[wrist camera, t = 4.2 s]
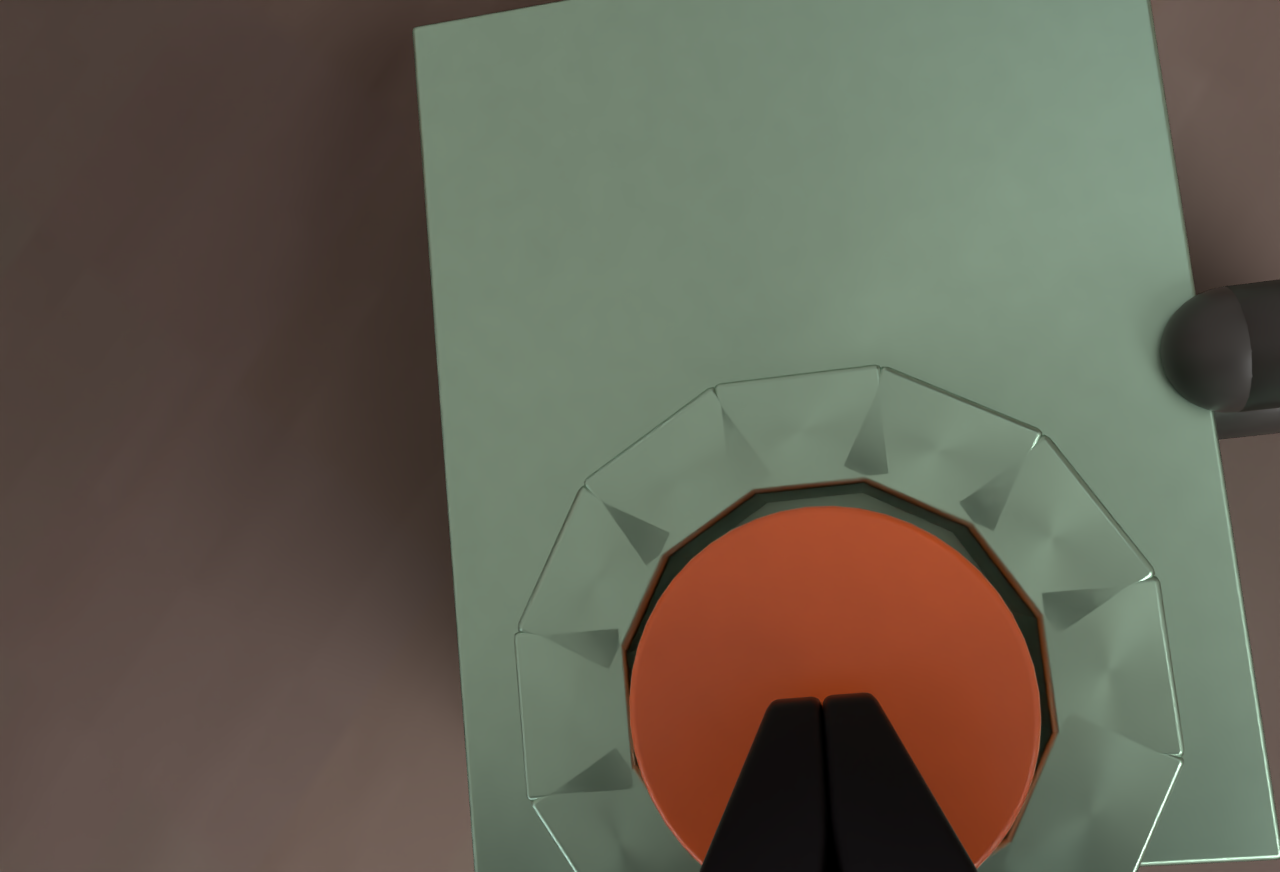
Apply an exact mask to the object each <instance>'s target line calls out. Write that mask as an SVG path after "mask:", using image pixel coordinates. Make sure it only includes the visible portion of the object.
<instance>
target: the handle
mask: <svg viewBox="0 0 1280 872" xmlns="http://www.w3.org/2000/svg"><path fill="white" fill-rule="evenodd" d="M1160 354H1161V361H1162V366H1163V369H1164V371H1165V374H1166V376H1167V378H1168V380H1169V382H1170V383H1171V384H1172V386H1173V387H1174V388H1175V390H1176V391H1177V392H1178V393H1180V394H1181V395H1182V396H1183V397H1184V398H1185V399H1186V400H1188V401H1190V402H1191V403H1193V404H1195V405H1196V406H1199V407H1202V408H1204V409H1207V410H1210V411H1214V413H1215V420H1216V426H1217V433H1218V439H1228V438H1237V437H1246V436H1256V435H1265V434H1275V433H1280V280H1272V281H1264V282H1256V283H1248V284H1240V285H1233V286H1225V287H1219V288H1214V289H1210V290H1208V291H1205V292H1203V293H1201V294H1198V295H1196V296H1194V297H1192V298H1191V299H1189V300H1188V301H1186V302H1185V303H1184V304H1183V305H1182V306H1181V307H1180V308H1179V309H1178V310H1177V311H1176V312H1175V313H1174V314H1173V315H1172V317H1171V318H1170V320H1169V321H1168V323H1167V325H1166V327H1165V330H1164V333H1163V335H1162V340H1161V348H1160Z"/></svg>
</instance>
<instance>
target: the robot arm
mask: <svg viewBox="0 0 1280 872" xmlns="http://www.w3.org/2000/svg"><path fill="white" fill-rule="evenodd" d="M699 872H978V871H977V869H976V867H975V865H974V864H973V862H972V860H971V859H970V857H969V855H968V853H967V852H966V850H965V848H964V847H963V845H962V843H961V842H960V840H959V838H958V836H957V835H956V833H955V831H954V830H953V828H952V826H951V824H950V823H949V821H948V819H947V818H946V816H945V814H944V813H943V811H942V809H941V807H940V806H939V804H938V802H937V801H936V799H935V797H934V795H933V794H932V792H931V790H930V789H929V787H928V785H927V784H926V782H925V780H924V778H923V777H922V775H921V773H920V772H919V770H918V768H917V766H916V765H915V763H914V761H913V760H912V758H911V756H910V755H909V753H908V751H907V749H906V748H905V746H904V744H903V743H902V741H901V739H900V737H899V736H898V734H897V732H896V731H895V729H894V727H893V726H892V724H891V722H890V720H889V719H888V717H887V715H886V714H885V712H884V710H883V708H882V707H881V705H880V703H879V702H878V700H877V699H876V698H875V697H874V696H873V695H872V694H870V693H866V692H862V693H849V694H837V695H830V696H828V697H826V698H825V699H824V701H823V707H822V703H821V701H820V700H819V699H818V698H816V697H812V696H811V697H798V698H785V699H777V700H774V701H773V702H771V703H770V705H769V706H768V708H767V709H766V711H765V714H764V716H763V719H762V721H761V723H760V726H759V728H758V731H757V733H756V735H755V738H754V740H753V743H752V745H751V748H750V750H749V752H748V755H747V757H746V760H745V762H744V764H743V767H742V769H741V772H740V774H739V777H738V779H737V781H736V784H735V786H734V789H733V791H732V793H731V796H730V798H729V801H728V803H727V806H726V808H725V810H724V813H723V815H722V818H721V820H720V822H719V825H718V827H717V830H716V832H715V835H714V837H713V839H712V842H711V844H710V847H709V849H708V851H707V854H706V856H705V859H704V861H703V864H702V866H701V868H700V871H699Z"/></svg>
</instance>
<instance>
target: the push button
mask: <svg viewBox="0 0 1280 872" xmlns="http://www.w3.org/2000/svg"><path fill="white" fill-rule="evenodd" d="M862 692H866V693H870V694H872V695H873V696H874V697H875V698H876V699H877V700H878V702H879V703H880V705H881V707H882V708H883V710H884V712H885V714H886V715H887V717H888V719H889V720H890V722H891V724H892V726H893V727H894V729H895V731H896V732H897V734H898V736H899V737H900V739H901V741H902V743H903V744H904V746H905V748H906V749H907V751H908V753H909V755H910V756H911V758H912V760H913V761H914V763H915V765H916V766H917V768H918V770H919V772H920V773H921V775H922V777H923V778H924V780H925V782H926V784H927V785H928V787H929V789H930V790H931V792H932V794H933V795H934V797H935V799H936V801H937V802H938V804H939V806H940V807H941V809H942V811H943V813H944V814H945V816H946V818H947V819H948V821H949V823H950V824H951V826H952V828H953V830H954V831H955V833H956V835H957V836H958V838H959V840H960V842H961V843H962V845H963V847H964V848H965V850H966V852H967V853H968V855H969V857H970V859H971V860H972V862H973V864H974V865H975V867H976V869H977V868H978V867H979V866H980V865H981V864H982V863H983V862H984V861H985V860H986V859H987V858H988V857H989V856H990V855H991V854H992V853H993V852H994V851H995V850H996V848H997V847H998V846H999V844H1000V843H1001V841H1002V840H1003V839H1004V837H1005V836H1006V834H1007V833H1008V832H1009V830H1010V829H1011V827H1012V826H1013V824H1014V822H1015V820H1016V818H1017V816H1018V814H1019V812H1020V810H1021V808H1022V806H1023V804H1024V803H1025V800H1026V797H1027V794H1028V791H1029V789H1030V786H1031V783H1032V780H1033V777H1034V773H1035V768H1036V764H1037V759H1038V754H1039V749H1040V735H1041V707H1040V693H1039V688H1038V683H1037V678H1036V673H1035V668H1034V664H1033V661H1032V658H1031V655H1030V652H1029V650H1028V647H1027V644H1026V641H1025V638H1024V636H1023V634H1022V632H1021V630H1020V628H1019V626H1018V624H1017V622H1016V620H1015V618H1014V616H1013V614H1012V613H1011V611H1010V610H1009V608H1008V607H1007V605H1006V604H1005V602H1004V601H1003V599H1002V597H1001V596H1000V594H999V593H998V591H997V590H996V589H995V588H994V587H993V586H992V584H991V583H990V582H989V581H988V580H987V579H986V578H985V576H984V575H983V574H982V573H981V572H980V571H979V570H978V569H977V568H976V567H975V566H974V565H973V564H972V563H971V562H970V561H968V560H967V559H966V558H965V557H964V556H963V555H962V554H961V553H959V552H958V551H957V550H955V549H954V548H953V547H951V546H950V545H948V544H947V543H945V542H944V541H942V540H941V539H939V538H938V537H937V536H935V535H933V534H931V533H929V532H927V531H925V530H923V529H921V528H919V527H918V526H916V525H914V524H912V523H909V522H906V521H904V520H901V519H898V518H895V517H893V516H890V515H887V514H884V513H879V512H875V511H870V510H866V509H861V508H853V507H842V506H810V507H801V508H795V509H790V510H784V511H779V512H776V513H773V514H769V515H766V516H763V517H760V518H756V519H754V520H752V521H750V522H747V523H745V524H743V525H741V526H739V527H737V528H734V529H732V530H731V531H729V532H727V533H726V534H724V535H723V536H721V537H719V538H718V539H716V540H715V541H713V542H712V543H710V544H709V545H708V546H706V547H705V548H704V549H703V550H702V551H700V552H699V553H698V554H697V555H696V556H694V557H693V558H692V559H691V560H690V561H689V562H688V563H687V564H686V565H685V566H684V567H683V569H682V570H681V571H680V572H679V573H678V574H677V575H676V576H675V577H674V578H673V580H672V581H671V582H670V584H669V585H668V587H667V588H666V590H665V591H664V592H663V594H662V595H661V597H660V598H659V600H658V601H657V603H656V605H655V607H654V609H653V611H652V613H651V615H650V617H649V619H648V620H647V622H646V625H645V628H644V631H643V633H642V636H641V639H640V641H639V644H638V647H637V651H636V656H635V660H634V664H633V669H632V675H631V685H630V695H629V706H630V727H631V734H632V740H633V747H634V752H635V755H636V759H637V762H638V766H639V769H640V773H641V776H642V778H643V781H644V783H645V785H646V788H647V790H648V793H649V795H650V797H651V800H652V802H653V803H654V805H655V807H656V808H657V810H658V812H659V814H660V815H661V817H662V819H663V820H664V822H665V824H666V825H667V827H668V828H669V829H670V831H671V832H672V833H673V834H674V836H675V837H676V838H677V840H678V841H679V842H680V844H681V845H682V846H683V847H684V848H685V849H686V850H687V851H688V852H689V853H690V854H691V855H692V856H693V857H694V858H695V859H696V860H697V861H698V862H699V863H700V865H702V864H703V861H704V859H705V856H706V854H707V851H708V849H709V847H710V844H711V842H712V839H713V837H714V835H715V832H716V830H717V827H718V825H719V822H720V820H721V818H722V815H723V813H724V810H725V808H726V806H727V803H728V801H729V798H730V796H731V793H732V791H733V789H734V786H735V784H736V781H737V779H738V777H739V774H740V772H741V769H742V767H743V764H744V762H745V760H746V757H747V755H748V752H749V750H750V748H751V745H752V743H753V740H754V738H755V735H756V733H757V731H758V728H759V726H760V723H761V721H762V719H763V716H764V714H765V711H766V709H767V708H768V706H769V705H770V703H771V702H773V701H774V700H777V699H785V698H798V697H811V696H812V697H816V698H818V699H819V700H820V701H821V703H822V707H823V701H824V699H825V698H826V697H828V696H830V695H837V694H849V693H862Z"/></svg>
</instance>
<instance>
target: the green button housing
mask: <svg viewBox="0 0 1280 872" xmlns="http://www.w3.org/2000/svg"><path fill="white" fill-rule="evenodd" d="M412 34H413V47H414V61H415V74H416V88H417V101H418V115H419V128H420V142H421V155H422V169H423V182H424V196H425V209H426V223H427V236H428V250H429V263H430V276H431V290H432V303H433V317H434V330H435V344H436V357H437V371H438V384H439V398H440V411H441V425H442V438H443V452H444V465H445V479H446V492H447V506H448V519H449V533H450V546H451V560H452V573H453V587H454V600H455V614H456V627H457V641H458V654H459V668H460V681H461V695H462V708H463V722H464V735H465V749H466V762H467V776H468V789H469V803H470V816H471V830H472V843H473V857H474V870H475V872H699V871H700V868H701V866H702V865H700V863H699V862H698V861H697V860H696V859H695V858H694V857H693V856H692V855H691V854H690V853H689V852H688V851H687V850H686V849H685V848H684V847H683V846H682V845H681V844H680V842H679V841H678V840H677V838H676V837H675V836H674V834H673V833H672V832H671V831H670V829H669V828H668V827H667V825H666V824H665V822H664V820H663V819H662V817H661V815H660V814H659V812H658V810H657V808H656V807H655V805H654V803H653V802H652V800H651V797H650V795H649V793H648V790H647V788H646V785H645V783H644V781H643V778H642V776H641V773H640V769H639V766H638V762H637V759H636V755H635V752H634V747H633V740H632V734H631V727H630V706H629V695H630V685H631V675H632V669H633V664H634V660H635V656H636V651H637V647H638V644H639V641H640V639H641V636H642V633H643V631H644V628H645V625H646V622H647V620H648V619H649V617H650V615H651V613H652V611H653V609H654V607H655V605H656V603H657V601H658V600H659V598H660V597H661V595H662V594H663V592H664V591H665V590H666V588H667V587H668V585H669V584H670V582H671V581H672V580H673V578H674V577H675V576H676V575H677V574H678V573H679V572H680V571H681V570H682V569H683V567H684V566H685V565H686V564H687V563H688V562H689V561H690V560H691V559H692V558H693V557H694V556H696V555H697V554H698V553H699V552H700V551H702V550H703V549H704V548H705V547H706V546H708V545H709V544H710V543H712V542H713V541H715V540H716V539H718V538H719V537H721V536H723V535H724V534H726V533H727V532H729V531H731V530H732V529H734V528H737V527H739V526H741V525H743V524H745V523H747V522H750V521H752V520H754V519H756V518H760V517H763V516H766V515H769V514H773V513H776V512H779V511H784V510H790V509H795V508H801V507H810V506H842V507H853V508H861V509H866V510H870V511H875V512H879V513H884V514H887V515H890V516H893V517H895V518H898V519H901V520H904V521H906V522H909V523H912V524H914V525H916V526H918V527H919V528H921V529H923V530H925V531H927V532H929V533H931V534H933V535H935V536H937V537H938V538H939V539H941V540H942V541H944V542H945V543H947V544H948V545H950V546H951V547H953V548H954V549H955V550H957V551H958V552H959V553H961V554H962V555H963V556H964V557H965V558H966V559H967V560H968V561H970V562H971V563H972V564H973V565H974V566H975V567H976V568H977V569H978V570H979V571H980V572H981V573H982V574H983V575H984V576H985V578H986V579H987V580H988V581H989V582H990V583H991V584H992V586H993V587H994V588H995V589H996V590H997V591H998V593H999V594H1000V596H1001V597H1002V599H1003V601H1004V602H1005V604H1006V605H1007V607H1008V608H1009V610H1010V611H1011V613H1012V614H1013V616H1014V618H1015V620H1016V622H1017V624H1018V626H1019V628H1020V630H1021V632H1022V634H1023V636H1024V638H1025V641H1026V644H1027V647H1028V650H1029V652H1030V655H1031V658H1032V661H1033V664H1034V668H1035V673H1036V678H1037V683H1038V688H1039V693H1040V707H1041V735H1040V749H1039V754H1038V759H1037V764H1036V768H1035V773H1034V777H1033V780H1032V783H1031V786H1030V789H1029V791H1028V794H1027V797H1026V800H1025V803H1024V804H1023V806H1022V808H1021V810H1020V812H1019V814H1018V816H1017V818H1016V820H1015V822H1014V824H1013V826H1012V827H1011V829H1010V830H1009V832H1008V833H1007V834H1006V836H1005V837H1004V839H1003V840H1002V841H1001V843H1000V844H999V846H998V847H997V848H996V850H995V851H994V852H993V853H992V854H991V855H990V856H989V857H988V858H987V859H986V860H985V861H984V862H983V863H982V864H981V865H980V866H979V867H978V868H977V871H978V872H1137V871H1138V869H1139V867H1144V866H1164V865H1183V864H1203V863H1223V862H1242V861H1262V860H1277V859H1280V832H1279V825H1278V819H1277V813H1276V806H1275V800H1274V793H1273V787H1272V780H1271V774H1270V768H1269V761H1268V755H1267V748H1266V742H1265V735H1264V729H1263V722H1262V716H1261V710H1260V703H1259V697H1258V690H1257V684H1256V677H1255V671H1254V665H1253V658H1252V652H1251V645H1250V639H1249V632H1248V626H1247V619H1246V613H1245V607H1244V600H1243V594H1242V587H1241V581H1240V574H1239V568H1238V562H1237V555H1236V549H1235V542H1234V536H1233V529H1232V523H1231V516H1230V510H1229V504H1228V497H1227V491H1226V484H1225V478H1224V471H1223V465H1222V459H1221V452H1220V446H1219V439H1218V433H1217V426H1216V420H1215V413H1214V411H1210V410H1207V409H1204V408H1202V407H1199V406H1196V405H1195V404H1193V403H1191V402H1190V401H1188V400H1186V399H1185V398H1184V397H1183V396H1182V395H1181V394H1180V393H1178V392H1177V391H1176V390H1175V388H1174V387H1173V386H1172V384H1171V383H1170V382H1169V380H1168V378H1167V376H1166V374H1165V371H1164V369H1163V366H1162V361H1161V354H1160V348H1161V340H1162V335H1163V333H1164V330H1165V327H1166V325H1167V323H1168V321H1169V320H1170V318H1171V317H1172V315H1173V314H1174V313H1175V312H1176V311H1177V310H1178V309H1179V308H1180V307H1181V306H1182V305H1183V304H1184V303H1185V302H1186V301H1188V300H1189V299H1191V298H1192V297H1194V296H1196V291H1195V285H1194V278H1193V272H1192V265H1191V259H1190V252H1189V246H1188V240H1187V233H1186V227H1185V220H1184V214H1183V207H1182V201H1181V195H1180V188H1179V182H1178V175H1177V169H1176V162H1175V156H1174V149H1173V143H1172V137H1171V130H1170V124H1169V117H1168V111H1167V104H1166V98H1165V92H1164V85H1163V79H1162V72H1161V66H1160V59H1159V53H1158V46H1157V40H1156V34H1155V27H1154V21H1153V14H1152V8H1151V1H1150V0H563V1H558V2H552V3H546V4H541V5H535V6H530V7H524V8H519V9H513V10H507V11H502V12H496V13H491V14H485V15H480V16H474V17H468V18H463V19H457V20H452V21H446V22H441V23H435V24H429V25H424V26H418V27H415V28H413V33H412Z"/></svg>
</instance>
